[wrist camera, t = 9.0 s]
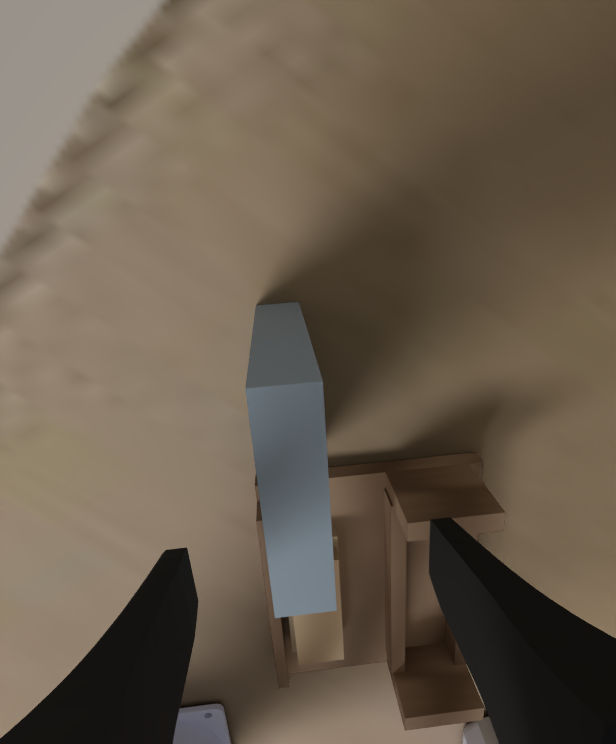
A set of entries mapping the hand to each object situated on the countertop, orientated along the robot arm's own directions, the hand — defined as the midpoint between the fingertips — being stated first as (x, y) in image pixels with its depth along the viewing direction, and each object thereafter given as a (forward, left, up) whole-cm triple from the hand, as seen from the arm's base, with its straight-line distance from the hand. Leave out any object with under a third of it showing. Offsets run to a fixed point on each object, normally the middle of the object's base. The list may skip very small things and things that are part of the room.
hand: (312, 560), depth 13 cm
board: (0, +2, -10) cm, 11 cm away
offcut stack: (0, -11, -9) cm, 14 cm away
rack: (+4, -11, -10) cm, 15 cm away
